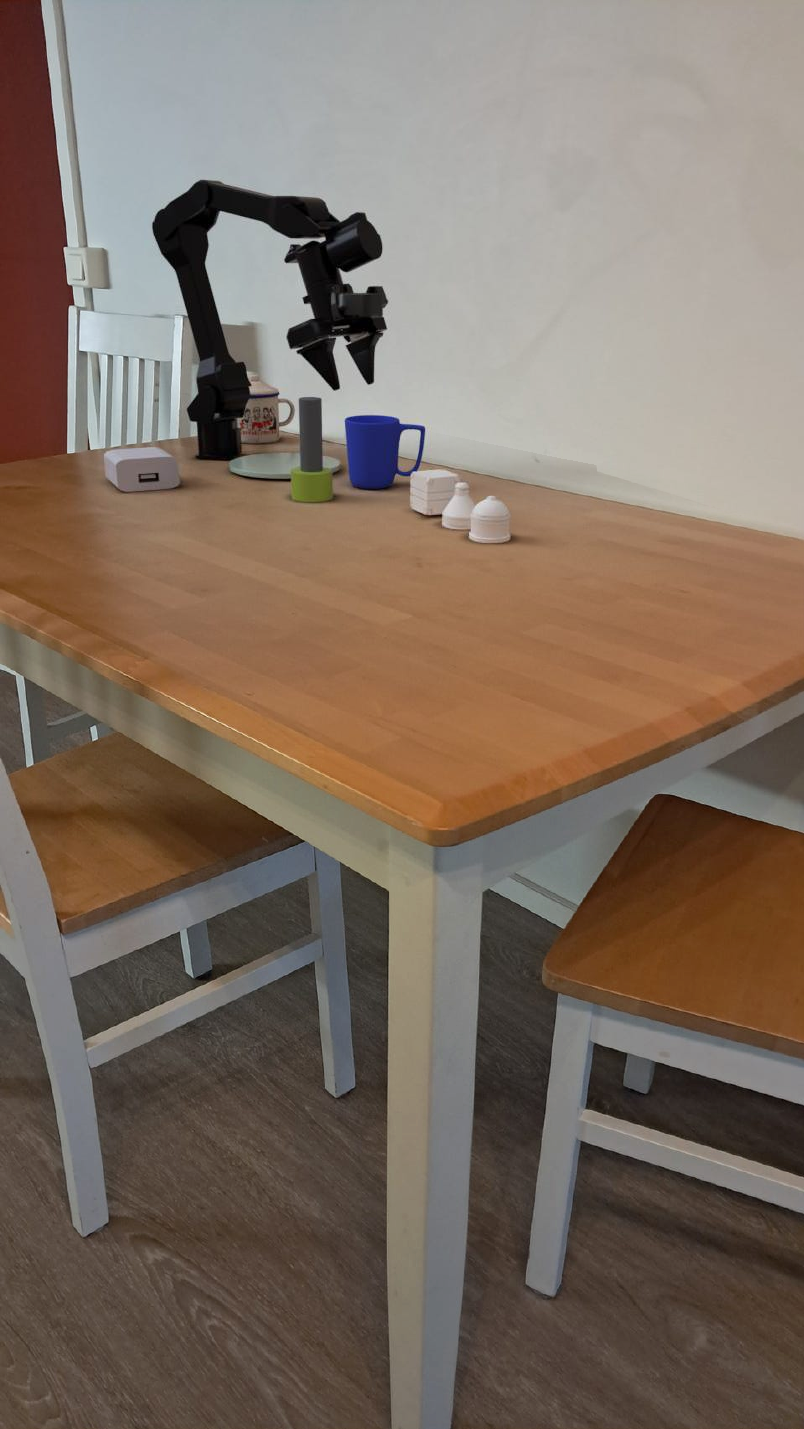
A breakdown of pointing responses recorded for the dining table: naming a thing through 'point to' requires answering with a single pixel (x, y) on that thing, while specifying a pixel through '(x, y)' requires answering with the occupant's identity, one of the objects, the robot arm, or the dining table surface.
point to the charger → (141, 469)
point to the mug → (376, 449)
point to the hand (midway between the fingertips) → (354, 386)
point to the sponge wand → (311, 456)
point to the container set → (459, 506)
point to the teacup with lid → (262, 414)
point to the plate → (273, 465)
